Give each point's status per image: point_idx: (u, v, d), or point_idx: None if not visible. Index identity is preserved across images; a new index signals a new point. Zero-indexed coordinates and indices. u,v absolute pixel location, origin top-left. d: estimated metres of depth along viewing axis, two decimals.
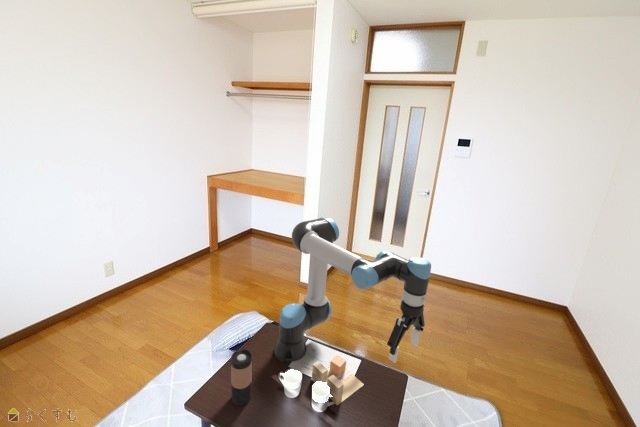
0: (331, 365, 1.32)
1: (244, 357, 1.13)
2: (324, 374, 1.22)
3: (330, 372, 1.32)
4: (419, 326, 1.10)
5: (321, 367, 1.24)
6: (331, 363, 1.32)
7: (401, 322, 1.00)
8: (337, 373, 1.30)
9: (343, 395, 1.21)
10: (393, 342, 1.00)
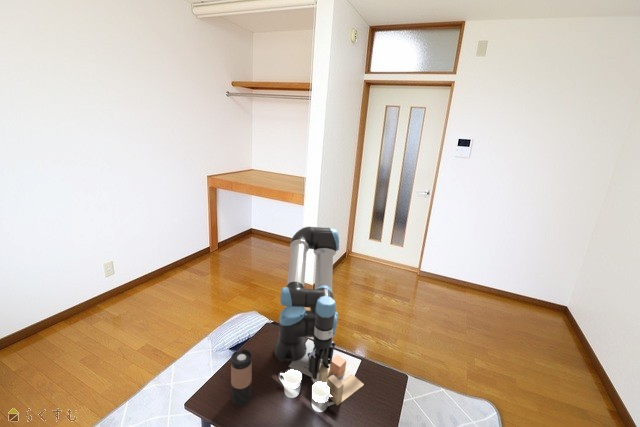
0: (331, 365, 1.32)
1: (244, 357, 1.13)
2: (324, 374, 1.22)
3: (330, 372, 1.32)
4: (326, 362, 1.24)
5: (321, 367, 1.24)
6: (331, 363, 1.32)
7: (310, 357, 1.17)
8: (337, 373, 1.30)
9: (343, 395, 1.21)
10: (311, 370, 1.20)
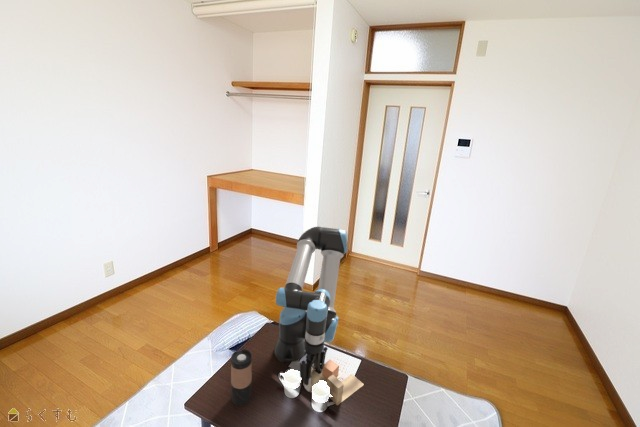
0: (323, 370, 1.29)
1: (244, 357, 1.13)
2: (315, 380, 1.19)
3: (322, 377, 1.29)
4: (318, 367, 1.21)
5: (313, 373, 1.21)
6: (323, 368, 1.29)
7: (302, 363, 1.14)
8: None
9: (343, 395, 1.21)
10: (303, 376, 1.17)
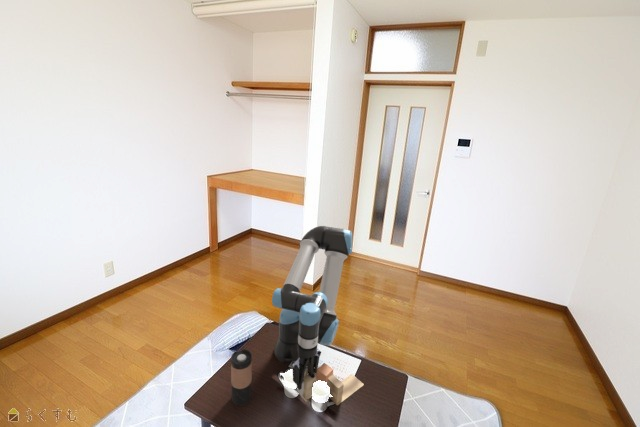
0: (317, 374, 1.27)
1: (244, 357, 1.13)
2: (309, 384, 1.17)
3: None
4: (312, 371, 1.19)
5: (306, 377, 1.18)
6: (317, 372, 1.26)
7: (294, 367, 1.12)
8: None
9: (343, 395, 1.21)
10: (295, 380, 1.14)
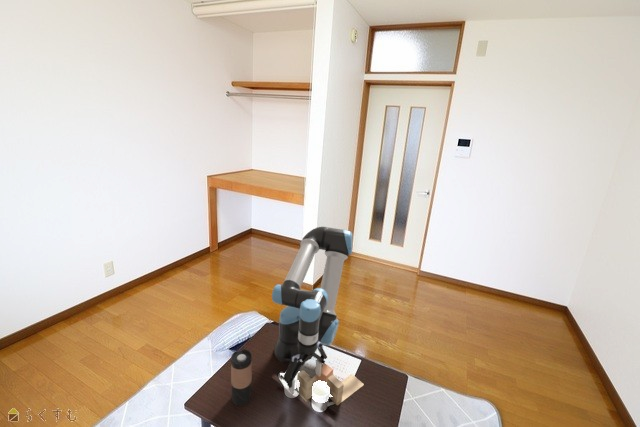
0: None
1: (244, 357, 1.13)
2: (308, 384, 1.17)
3: None
4: (320, 359, 1.21)
5: (306, 377, 1.18)
6: None
7: (294, 359, 1.11)
8: None
9: (343, 395, 1.21)
10: (287, 377, 1.11)
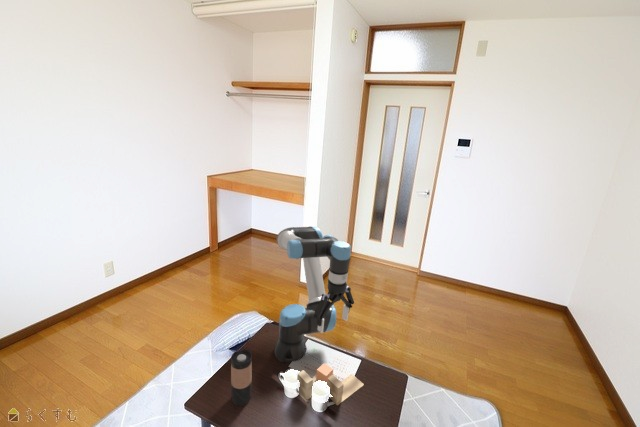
0: (317, 374, 1.27)
1: (244, 357, 1.13)
2: (308, 384, 1.17)
3: None
4: (347, 303, 1.25)
5: (306, 377, 1.18)
6: (317, 372, 1.26)
7: (325, 297, 1.16)
8: None
9: (343, 395, 1.21)
10: (318, 314, 1.16)
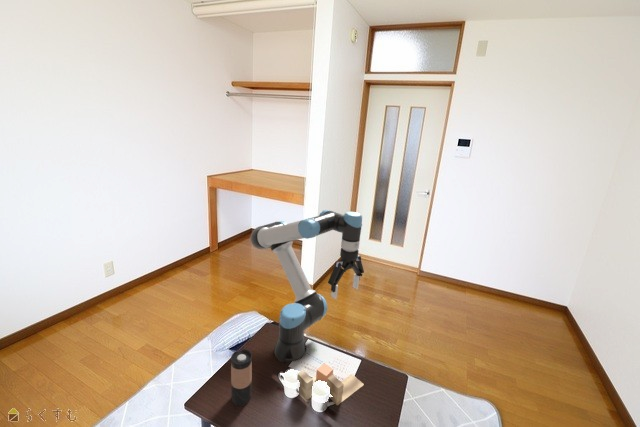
0: (317, 374, 1.27)
1: (244, 357, 1.13)
2: (308, 384, 1.17)
3: None
4: (358, 271, 1.34)
5: (306, 377, 1.18)
6: (317, 372, 1.26)
7: (338, 264, 1.23)
8: None
9: (343, 395, 1.21)
10: (332, 280, 1.24)
